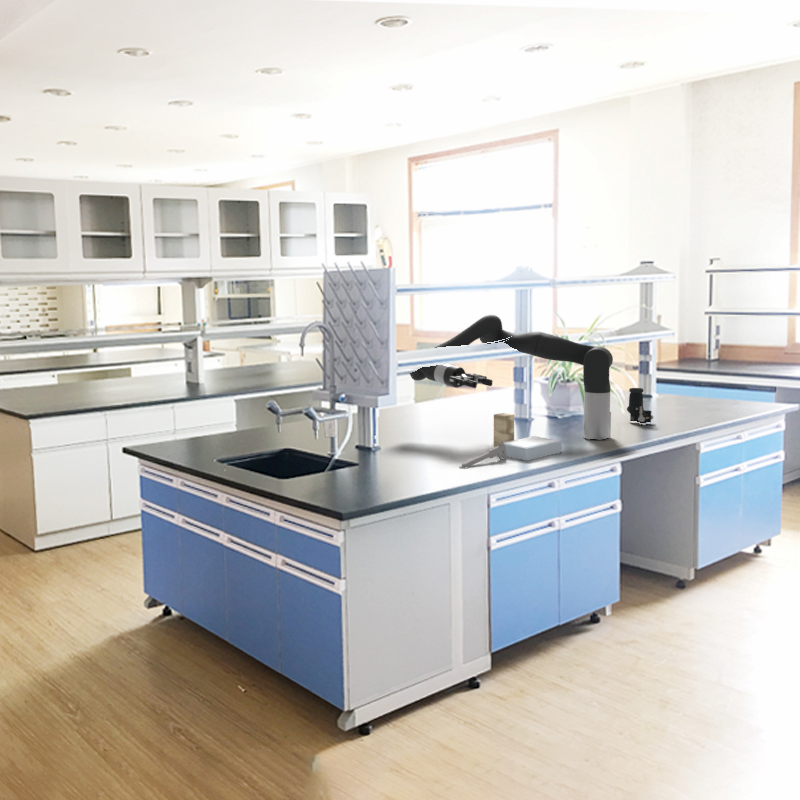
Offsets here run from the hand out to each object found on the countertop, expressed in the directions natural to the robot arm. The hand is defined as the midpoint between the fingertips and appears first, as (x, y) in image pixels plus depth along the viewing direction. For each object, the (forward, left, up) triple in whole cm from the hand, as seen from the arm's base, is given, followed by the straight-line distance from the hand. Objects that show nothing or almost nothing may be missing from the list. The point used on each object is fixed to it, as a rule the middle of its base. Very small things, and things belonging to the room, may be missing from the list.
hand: (484, 384), depth 295 cm
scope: (-77, +12, -22) cm, 81 cm away
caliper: (+20, +19, -22) cm, 36 cm away
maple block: (-2, +8, -22) cm, 23 cm away
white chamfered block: (-2, +20, -22) cm, 30 cm away
